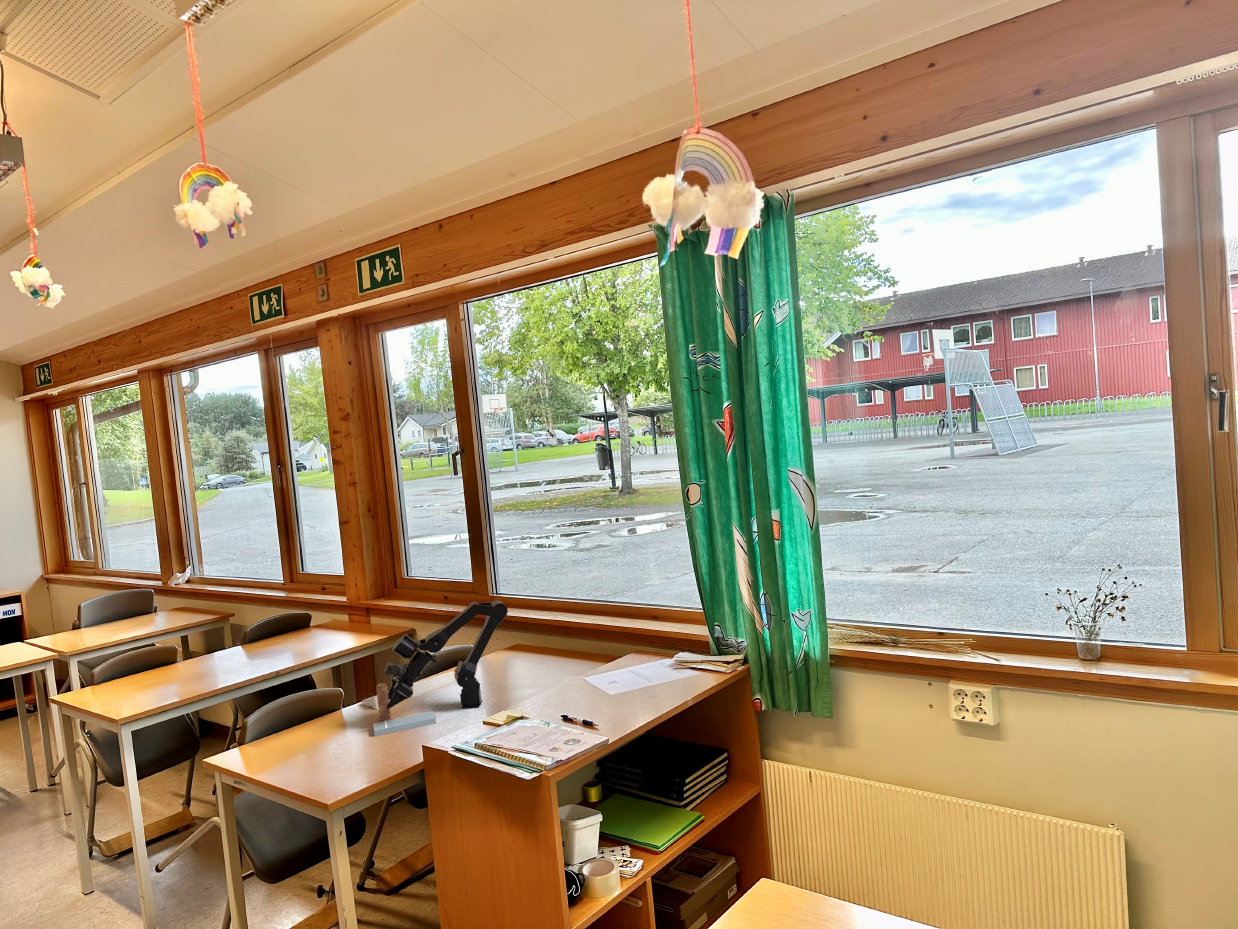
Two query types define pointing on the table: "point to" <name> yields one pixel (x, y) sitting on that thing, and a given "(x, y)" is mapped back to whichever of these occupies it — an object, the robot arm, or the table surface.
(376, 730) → the board
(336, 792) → the table surface
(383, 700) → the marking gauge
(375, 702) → the decorative molding
